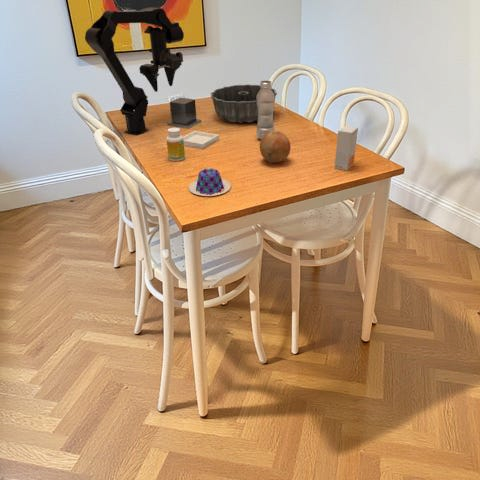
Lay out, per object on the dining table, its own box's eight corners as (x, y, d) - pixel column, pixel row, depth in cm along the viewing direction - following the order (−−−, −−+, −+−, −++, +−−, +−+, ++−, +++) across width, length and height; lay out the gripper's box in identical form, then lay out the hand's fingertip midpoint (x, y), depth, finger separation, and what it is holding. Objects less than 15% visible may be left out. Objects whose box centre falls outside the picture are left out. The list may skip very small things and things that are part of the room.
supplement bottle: (182, 161, 148) (179, 132, 142) (166, 160, 148) (163, 131, 143) (187, 155, 152) (184, 127, 147) (171, 154, 153) (168, 126, 148)
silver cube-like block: (167, 125, 180) (164, 102, 175) (180, 118, 186) (178, 96, 182) (188, 128, 176) (186, 105, 171) (201, 122, 182) (199, 99, 177)
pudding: (185, 183, 134) (183, 166, 131) (224, 177, 137) (224, 161, 134) (193, 201, 124) (192, 183, 122) (235, 194, 127) (235, 177, 125)
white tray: (178, 144, 161) (177, 139, 160) (195, 135, 169) (194, 130, 168) (203, 149, 157) (202, 144, 156) (219, 139, 164) (219, 134, 163)
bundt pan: (218, 130, 174) (217, 103, 168) (206, 111, 195) (205, 87, 190) (284, 123, 179) (285, 97, 173) (265, 105, 200) (265, 82, 195)
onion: (291, 156, 149) (292, 126, 144) (288, 168, 141) (289, 137, 136) (262, 154, 151) (262, 125, 146) (257, 166, 143) (257, 135, 138)
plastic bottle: (262, 143, 160) (262, 85, 149) (252, 138, 165) (252, 81, 154) (277, 140, 162) (279, 82, 152) (268, 135, 168) (269, 78, 157)
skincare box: (347, 171, 138) (351, 132, 132) (334, 168, 140) (337, 130, 134) (354, 164, 143) (358, 126, 136) (341, 161, 145) (345, 124, 138)
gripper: (160, 51, 158) (165, 97, 167) (191, 42, 172) (194, 85, 180) (135, 49, 163) (141, 93, 171) (167, 41, 177) (171, 82, 185)
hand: (163, 88), depth 177 cm, fingers open, 9 cm apart
